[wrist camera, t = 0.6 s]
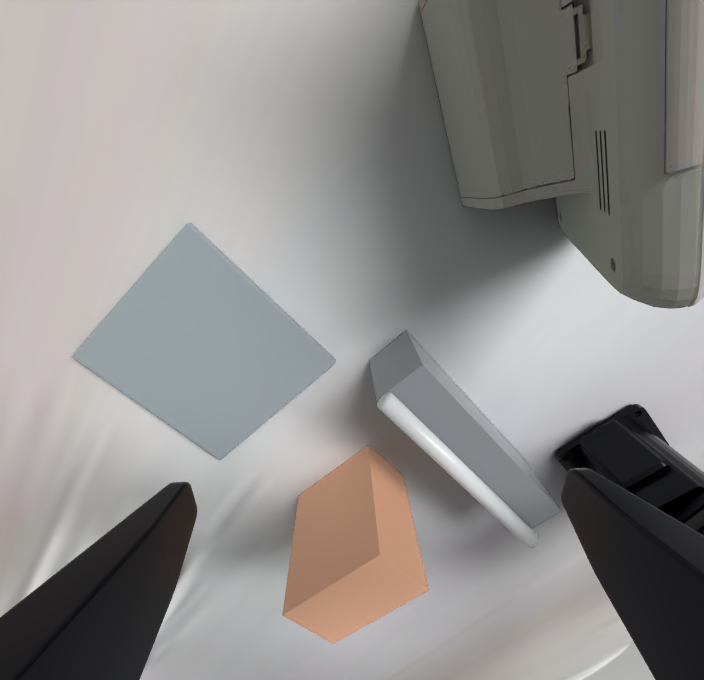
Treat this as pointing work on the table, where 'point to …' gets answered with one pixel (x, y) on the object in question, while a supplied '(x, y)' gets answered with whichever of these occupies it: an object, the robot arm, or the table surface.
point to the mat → (203, 346)
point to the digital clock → (584, 126)
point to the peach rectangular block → (353, 549)
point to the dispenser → (459, 437)
